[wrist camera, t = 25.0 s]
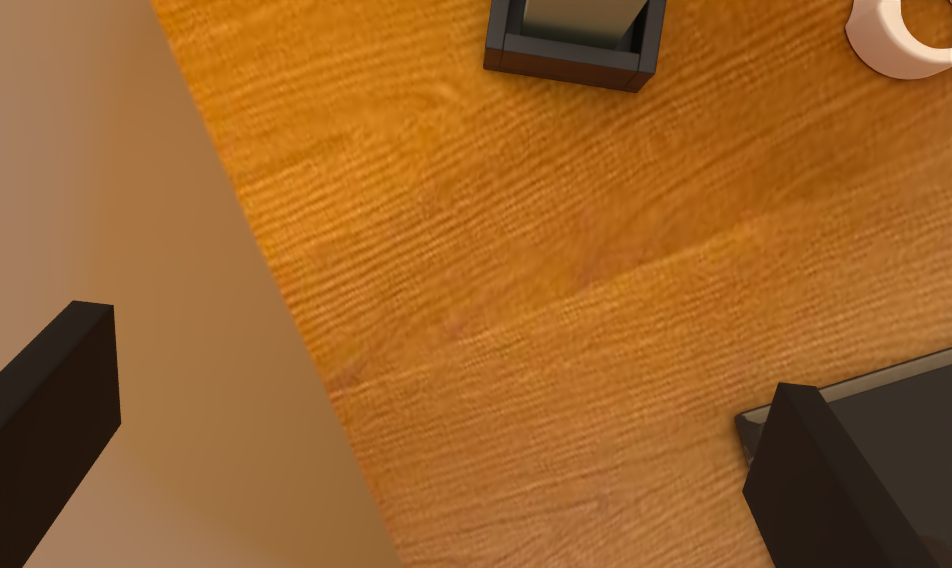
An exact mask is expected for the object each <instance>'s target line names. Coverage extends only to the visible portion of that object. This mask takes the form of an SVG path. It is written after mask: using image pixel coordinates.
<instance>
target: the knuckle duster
mask: <svg viewBox="0 0 952 568" xmlns="http://www.w3.org/2000/svg"><path fill="white" fill-rule="evenodd" d="M949 1H950V2H951V3H952V0H949ZM845 29H846V33H847V36H848V39H849V41H850V43H851V45H852V47H853V49H854V50H855V52H856V53H857V54H858V56H859V57H860V58H861V59H862V60H863V61H864V62H865V63H866V64H867V65H868V66H870V67H871V68H873V69H874V70H876V71H877V72H879V73H881V74H884V75H886V76H889V77H893V78H898V79H920V78H925V77H929V76H932V75H934V74H937V73H939V72H942V71H944V70H946V69H949V68H951V67H952V48H947V49H936V48H931V47H928V46H925V45H923V44H921V43H920V42H918V41H917V40H916V39H915V38H914V37H913V36H912V35H911V34H910V33H909V32H908V30H907V29H906V27H905V25H904V22H903V20H902V16H901V0H854V4H853V9H852V13H851V16H850V18H849V20H848V22H847V24H846V26H845Z"/></svg>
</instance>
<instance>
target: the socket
mask: <svg viewBox="0 0 952 568" xmlns="http://www.w3.org/2000/svg"><path fill="white" fill-rule="evenodd" d="M524 2H525V0H492V4H491V11H490V18H489V24H488V31H487V37H486V44H485V53H484V63H483V68H484V69H488V70H495V71H501V72H507V73H514V74H520V75H527V76H533V77H539V78H546V79H552V80H558V81H565V82H571V83H578V84H584V85H590V86H597V87H603V88H609V89H616V90H622V91H629V92H635V93H637V92H638V91H639V90H640V89H641V88H642V87H643V86H644V85H645V83H646V82H647V81H648V80H649V79H650V78H651V77H652V76H653V75H654V74H655V71H656V65H657V59H658V52H659V46H660V39H661V33H662V26H663V20H664V13H665V7H666V0H647V1H646V3H645V4H644V6H643V7H642V9H641V10H640V12H639V13H638V15H637V16H636V18H635V19H634V21H633V22H632V23H631V25H630V26H629V28H628V29H627V31H626V32H625V34H624V35H623V37H622V38H621V40H620V41H619V43H618V44H617V46H616V47H615V49H614V50H612V49H605V48H599V47H592V46H586V45H580V44H573V43H567V42H561V41H554V40H548V39H542V38H535V37H529V36H523V35H520V30H521V23H522V16H523V9H524Z"/></svg>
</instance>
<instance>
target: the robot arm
mask: <svg viewBox="0 0 952 568" xmlns="http://www.w3.org/2000/svg"><path fill="white" fill-rule="evenodd" d="M119 399H120V398H119V383H118V368H117V352H116V336H115V321H114V306H113V305H107V304H99V303H91V302H82V301H72V302H71V303H70V304H69V305H68V306H67V307H66V308H65V309H64V310H63V311H62V312H61V313H60V314H59V315H58V316H57V317H56V318H55V319H54V320H53V321H52V322H51V323H49V324H48V326H46V327H45V328H44V329H43V330H42V331H41V332H40V333H39V334H38V335H37V336H36V337H35V338H34V339H33V340H32V341H31V342H30V343H29V344H28V345H27V346H26V347H25V348H24V349H23V350H22V351H21V352H20V353H19V354H18V355H17V356H16V357H15V358H14V359H13V360H12V361H11V362H10V363H9V364H8V365H7V366H6V367H5V368H4V369H3V370H2V371H1V372H0V568H22V567H23V566H24V564H25V563H26V561H27V560H28V559H29V557H30V556H31V554H32V553H33V551H34V550H35V548H36V547H37V545H38V544H39V543H40V541H41V540H42V538H43V537H44V535H45V534H46V532H47V531H48V529H49V528H50V526H51V525H52V524H53V522H54V521H55V519H56V518H57V516H58V515H59V513H60V512H61V511H62V509H63V508H64V506H65V505H66V503H67V502H68V500H69V499H70V497H71V496H72V494H73V493H74V492H75V490H76V488H77V487H78V486H79V484H80V483H81V481H82V480H83V478H84V477H85V475H86V474H87V473H88V471H89V470H90V468H91V467H92V465H93V464H94V463H95V461H96V460H97V458H98V457H99V455H100V454H101V452H102V451H103V449H104V448H105V447H106V445H107V444H108V442H109V441H110V439H111V438H112V436H113V435H114V433H115V432H116V431H117V429H118V427H119V426H120V425H121V414H120V400H119ZM742 492H743V494H744V497H745V499H746V501H747V503H748V506H749V508H750V510H751V513H752V515H753V517H754V519H755V522H756V524H757V526H758V528H759V531H760V533H761V535H762V538H763V540H764V542H765V544H766V547H767V549H768V551H769V553H770V556H771V558H772V560H773V562H774V565H775V567H776V568H952V549H951V548H950V547H949V546H948V545H946V544H945V543H944V542H943V541H942V540H940V539H939V538H938V537H931V536H922V535H918V534H917V533H916V532H915V530H914V529H913V527H912V526H911V524H910V523H909V521H908V520H907V518H906V517H905V516H904V514H903V513H902V511H901V510H900V508H899V507H898V505H897V504H896V502H895V501H894V500H893V498H892V497H891V495H890V494H889V492H888V491H887V489H886V488H885V486H884V485H883V484H882V482H881V481H880V479H879V478H878V476H877V475H876V473H875V472H874V470H873V469H872V468H871V466H870V465H869V463H868V462H867V460H866V459H865V457H864V456H863V454H862V453H861V452H860V450H859V449H858V447H857V446H856V444H855V443H854V441H853V440H852V438H851V437H850V435H849V434H848V433H847V431H846V430H845V428H844V427H843V425H842V424H841V422H840V421H839V419H838V418H837V417H836V415H835V414H834V412H833V411H832V409H831V408H830V406H829V405H828V403H827V402H826V401H825V399H824V398H823V396H822V395H821V393H820V392H819V390H818V389H817V387H815V386H806V385H798V384H789V383H780V382H779V383H778V386H777V389H776V392H775V395H774V398H773V401H772V404H771V407H770V410H769V413H768V416H767V419H766V422H765V425H764V428H763V431H762V434H761V437H760V440H759V443H758V446H757V449H756V452H755V455H754V458H753V461H752V464H751V467H750V470H749V473H748V476H747V479H746V482H745V485H744V488H743V491H742Z"/></svg>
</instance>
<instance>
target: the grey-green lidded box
mask: <svg viewBox="0 0 952 568" xmlns="http://www.w3.org/2000/svg"><path fill="white" fill-rule="evenodd" d="M646 1H647V0H525V2H524V9H523V16H522V23H521V30H520V35H523V36H529V37H535V38H542V39H548V40H554V41H561V42H567V43H573V44H580V45H586V46H592V47H599V48H605V49H612V50H614V49H615V47H616V46H617V44H618V43H619V41H620V40H621V38H622V37H623V35H624V34H625V32H626V31H627V29H628V28H629V26H630V25H631V23H632V22H633V21H634V19H635V18H636V16H637V15H638V13H639V12H640V10H641V9H642V7H643V6H644V4H645V3H646Z"/></svg>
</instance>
